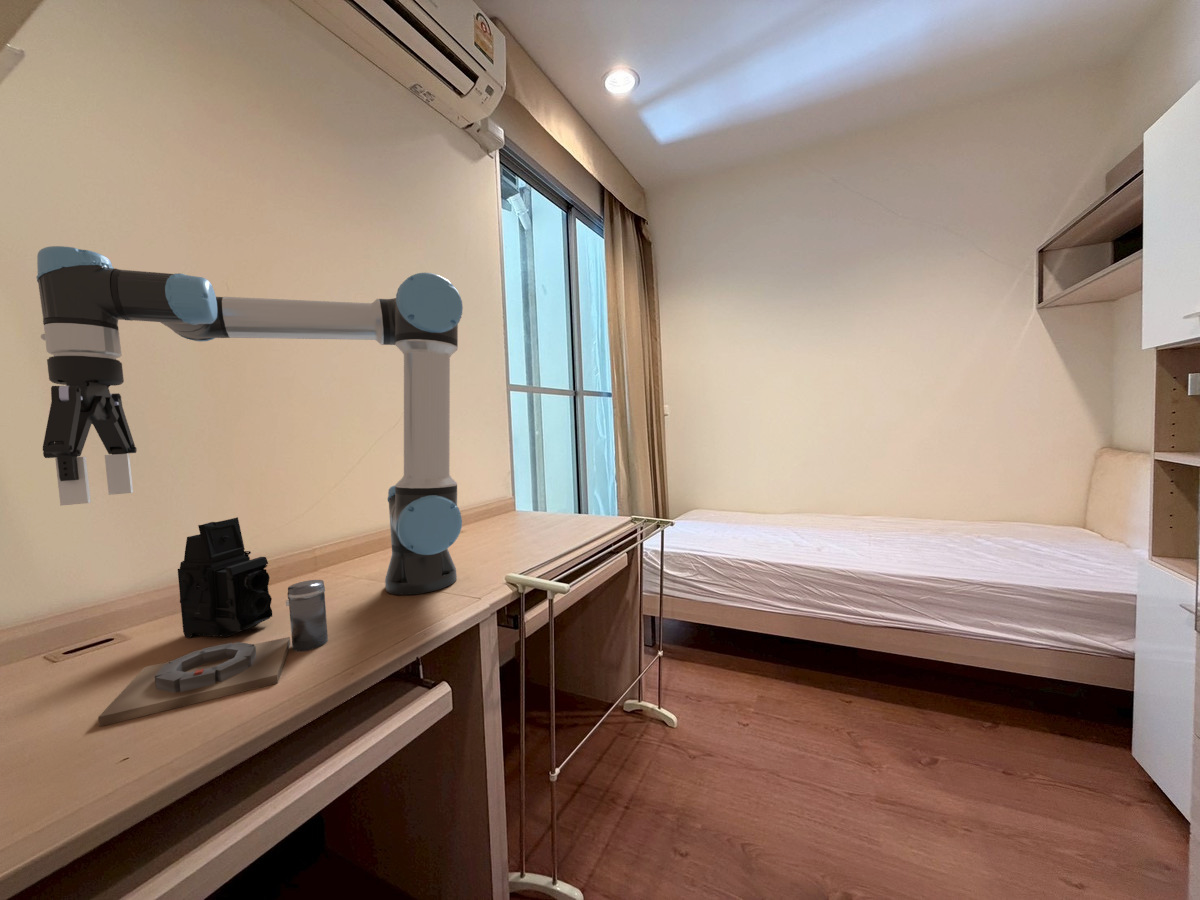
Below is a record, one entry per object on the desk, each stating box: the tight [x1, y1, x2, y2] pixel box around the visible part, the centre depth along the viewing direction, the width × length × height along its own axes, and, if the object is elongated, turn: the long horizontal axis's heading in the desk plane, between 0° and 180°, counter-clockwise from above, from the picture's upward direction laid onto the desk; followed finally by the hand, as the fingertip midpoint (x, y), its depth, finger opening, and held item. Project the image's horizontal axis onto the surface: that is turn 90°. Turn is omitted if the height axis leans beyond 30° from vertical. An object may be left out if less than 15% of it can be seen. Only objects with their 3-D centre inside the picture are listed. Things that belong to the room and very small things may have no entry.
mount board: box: [97, 636, 291, 727], centre depth 67 cm, size 18×14×3 cm
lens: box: [285, 579, 329, 652], centre depth 76 cm, size 6×5×10 cm
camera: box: [177, 516, 273, 639], centre depth 83 cm, size 10×14×20 cm
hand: (100, 498), depth 70 cm, fingers open, 13 cm apart
